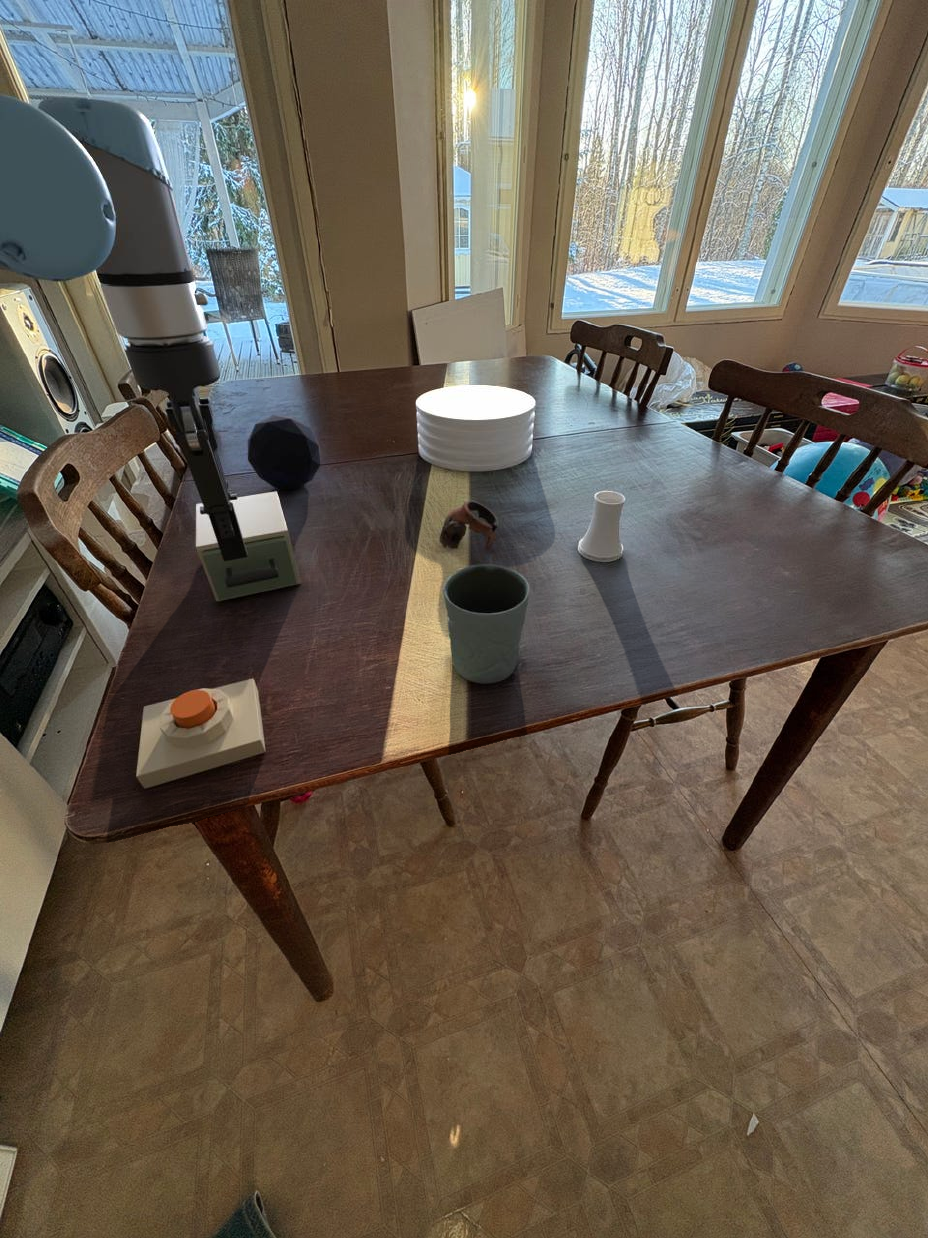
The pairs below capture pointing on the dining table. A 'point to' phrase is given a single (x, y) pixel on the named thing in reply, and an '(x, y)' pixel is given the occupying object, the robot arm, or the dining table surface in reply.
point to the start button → (193, 709)
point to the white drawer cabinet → (247, 527)
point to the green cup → (485, 620)
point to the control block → (200, 736)
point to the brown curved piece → (462, 516)
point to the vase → (604, 529)
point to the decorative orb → (283, 452)
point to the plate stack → (475, 427)
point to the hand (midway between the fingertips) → (235, 556)
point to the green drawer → (251, 568)
